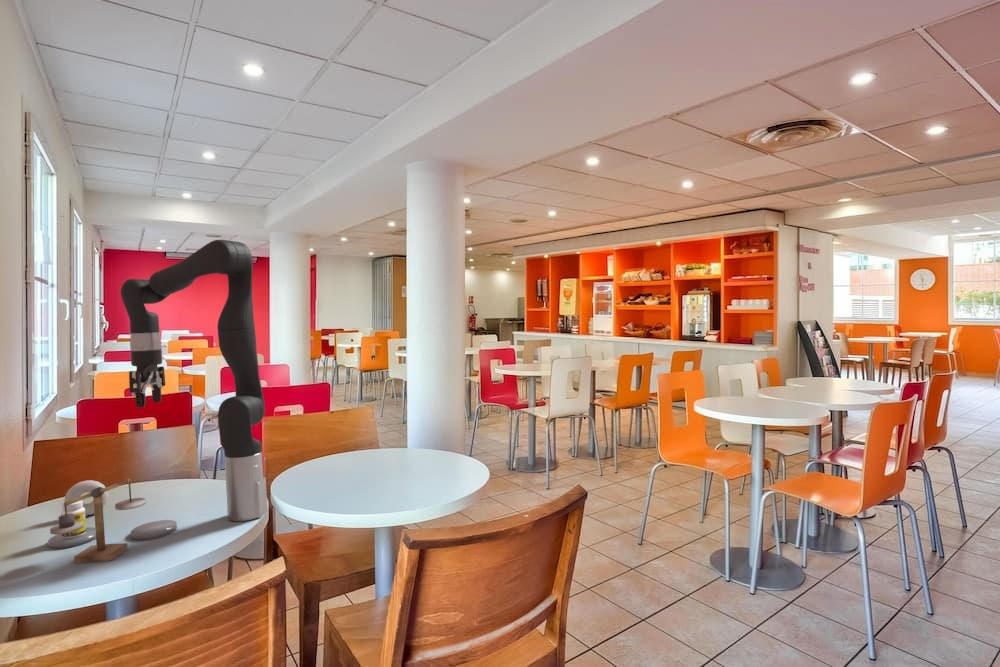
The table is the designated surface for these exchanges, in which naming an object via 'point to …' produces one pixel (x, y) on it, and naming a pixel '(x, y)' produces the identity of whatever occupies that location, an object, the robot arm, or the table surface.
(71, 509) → the supplement bottle
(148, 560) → the table surface
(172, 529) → the dish high side
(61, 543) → the dish low side
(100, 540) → the balance
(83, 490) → the donut
